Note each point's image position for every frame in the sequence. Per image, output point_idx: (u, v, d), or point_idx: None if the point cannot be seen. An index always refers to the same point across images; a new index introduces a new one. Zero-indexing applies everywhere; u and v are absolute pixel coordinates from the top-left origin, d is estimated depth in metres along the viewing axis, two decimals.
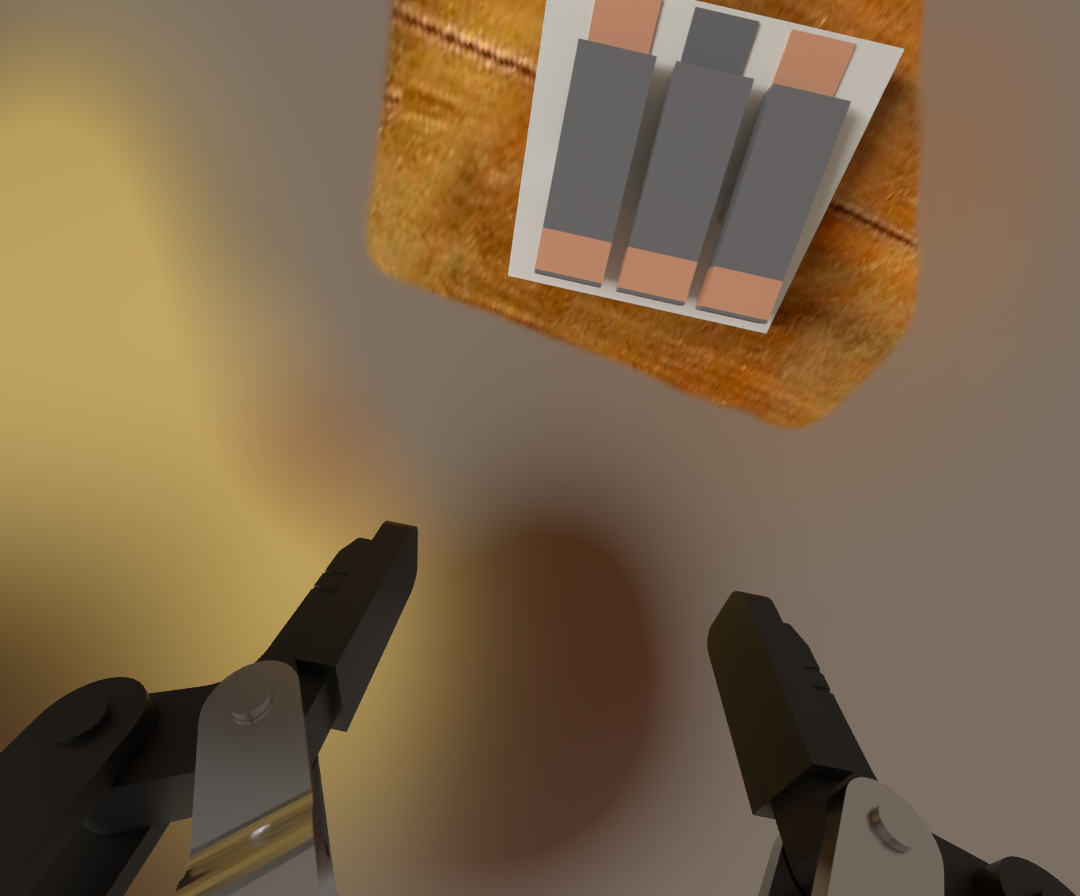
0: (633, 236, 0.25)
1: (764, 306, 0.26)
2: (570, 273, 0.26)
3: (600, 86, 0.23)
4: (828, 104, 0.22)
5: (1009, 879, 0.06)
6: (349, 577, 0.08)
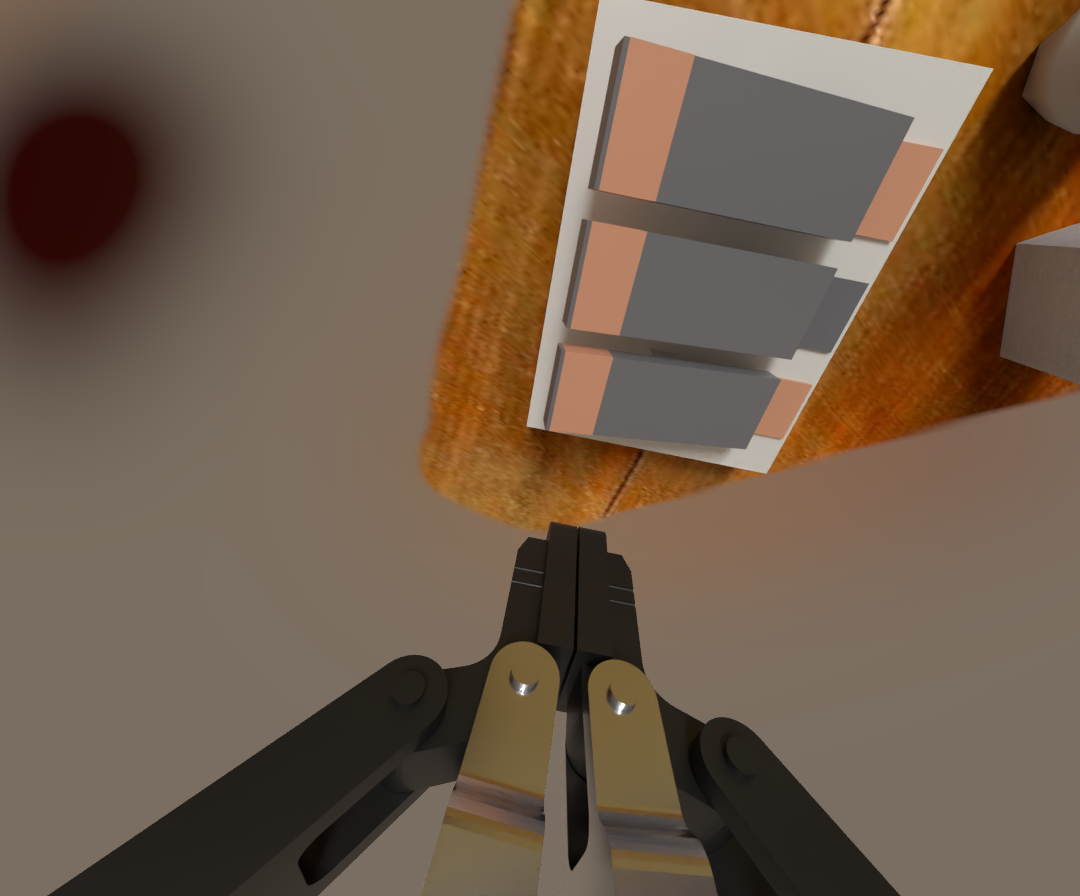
0: (659, 237, 0.17)
1: (565, 423, 0.21)
2: (617, 123, 0.15)
3: (849, 160, 0.16)
4: (748, 432, 0.23)
5: (711, 732, 0.07)
6: (546, 572, 0.09)
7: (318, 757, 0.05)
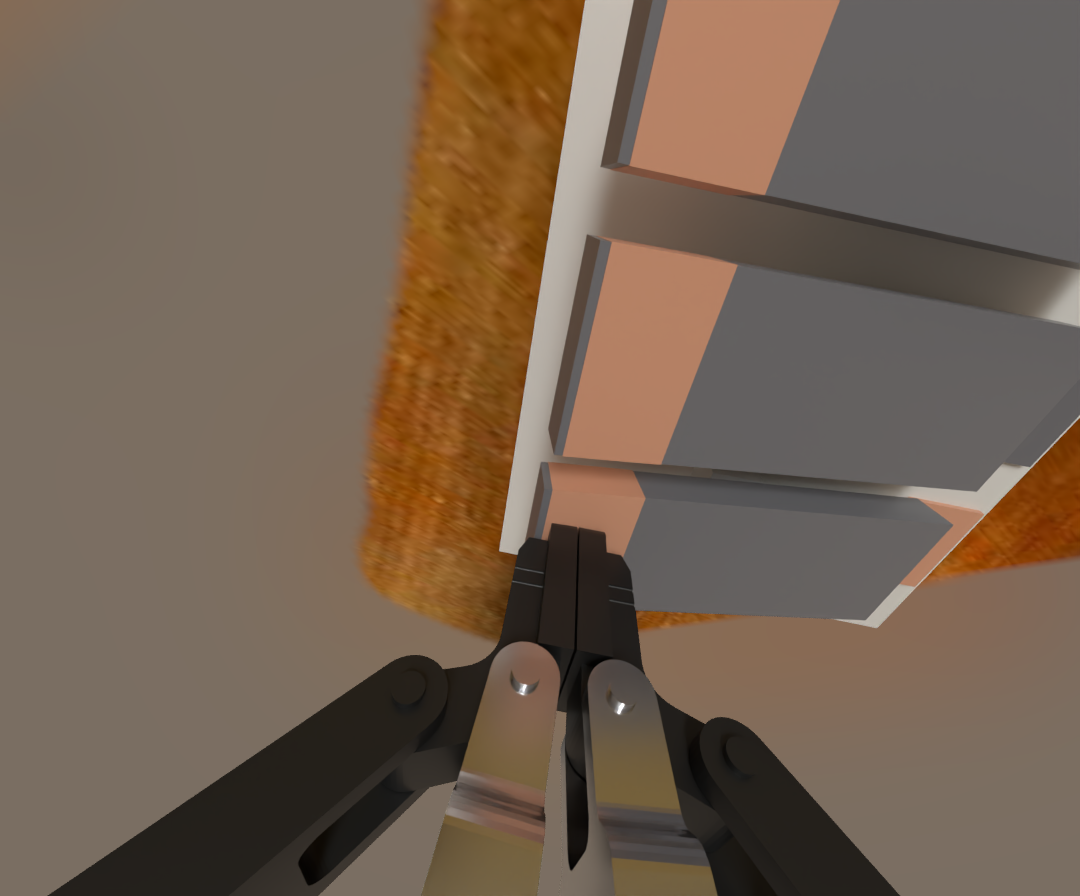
0: (764, 277, 0.07)
1: None
2: None
3: None
4: (876, 598, 0.13)
5: (711, 732, 0.07)
6: (547, 572, 0.09)
7: (318, 757, 0.05)
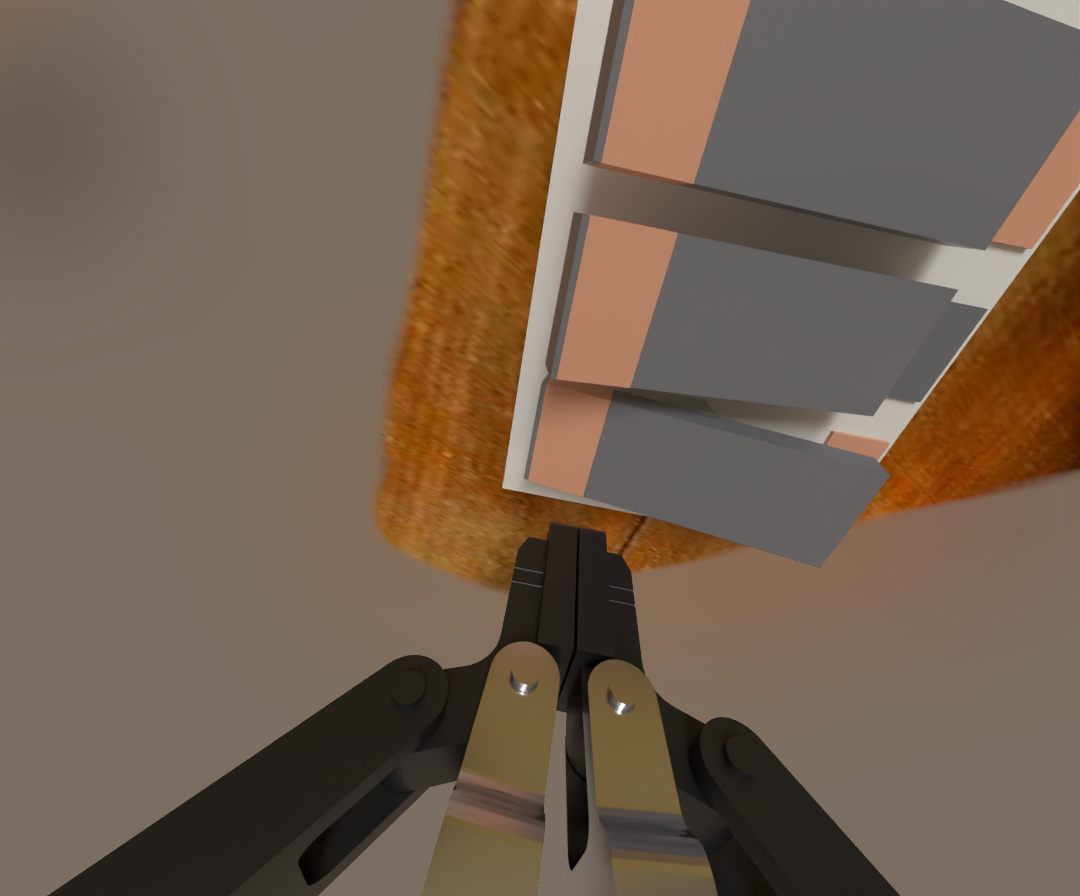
0: (697, 242, 0.11)
1: (547, 474, 0.17)
2: (633, 43, 0.08)
3: (1007, 119, 0.10)
4: (825, 543, 0.15)
5: (711, 732, 0.07)
6: (546, 572, 0.09)
7: (318, 757, 0.05)
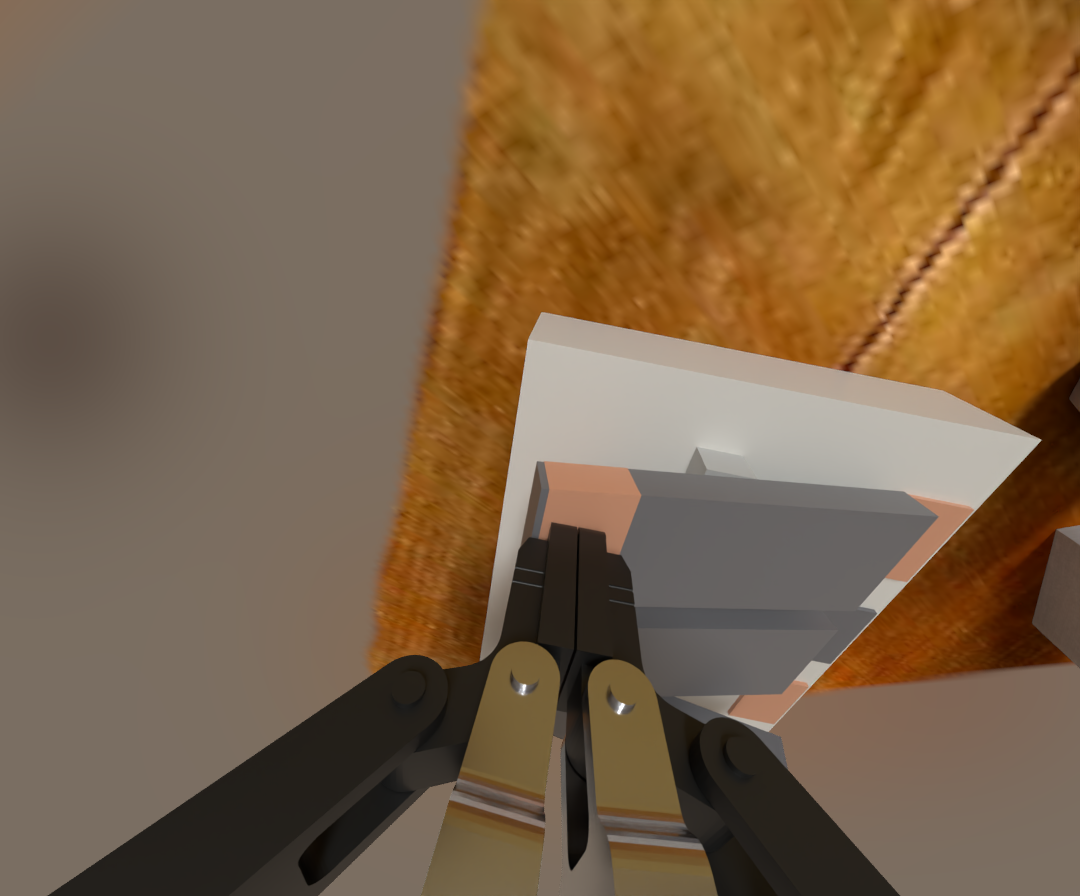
0: None
1: None
2: None
3: (853, 555, 0.12)
4: None
5: (711, 732, 0.07)
6: (547, 572, 0.09)
7: (318, 757, 0.05)
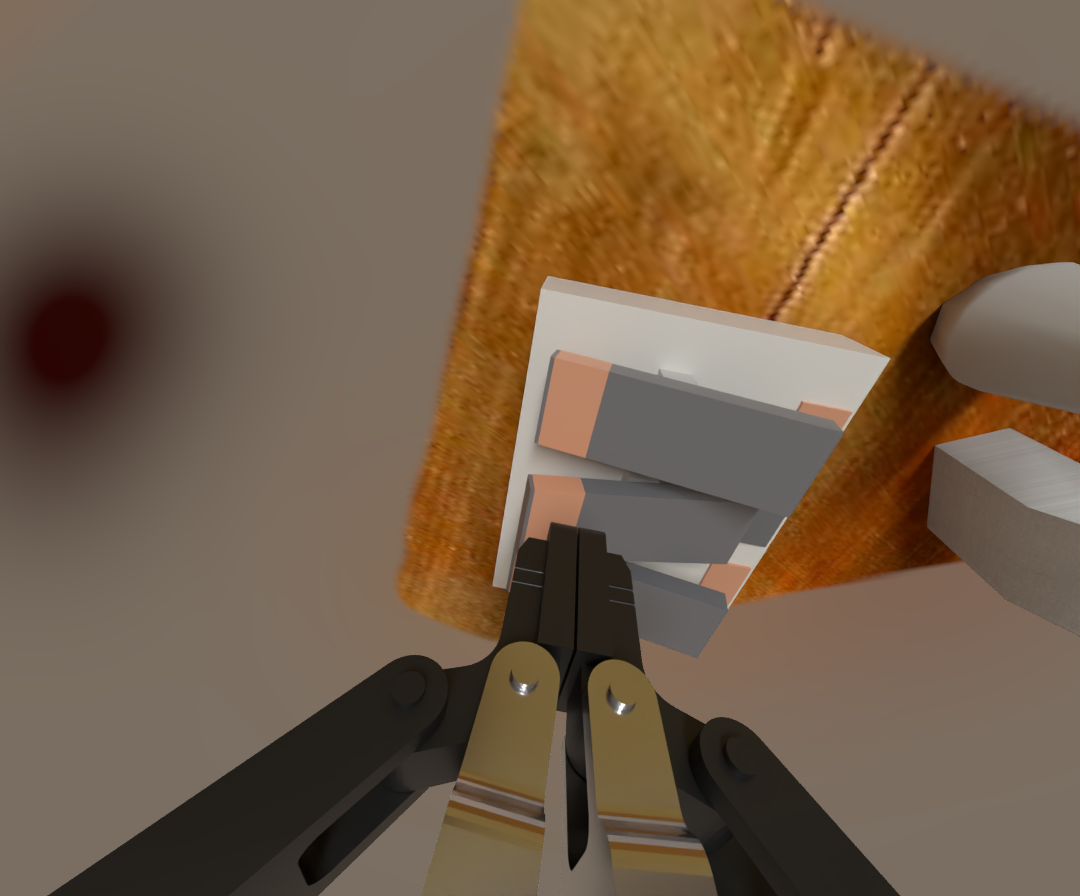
0: (597, 496, 0.19)
1: None
2: (549, 406, 0.19)
3: (774, 456, 0.17)
4: (698, 644, 0.23)
5: (711, 732, 0.07)
6: (546, 572, 0.09)
7: (318, 757, 0.05)
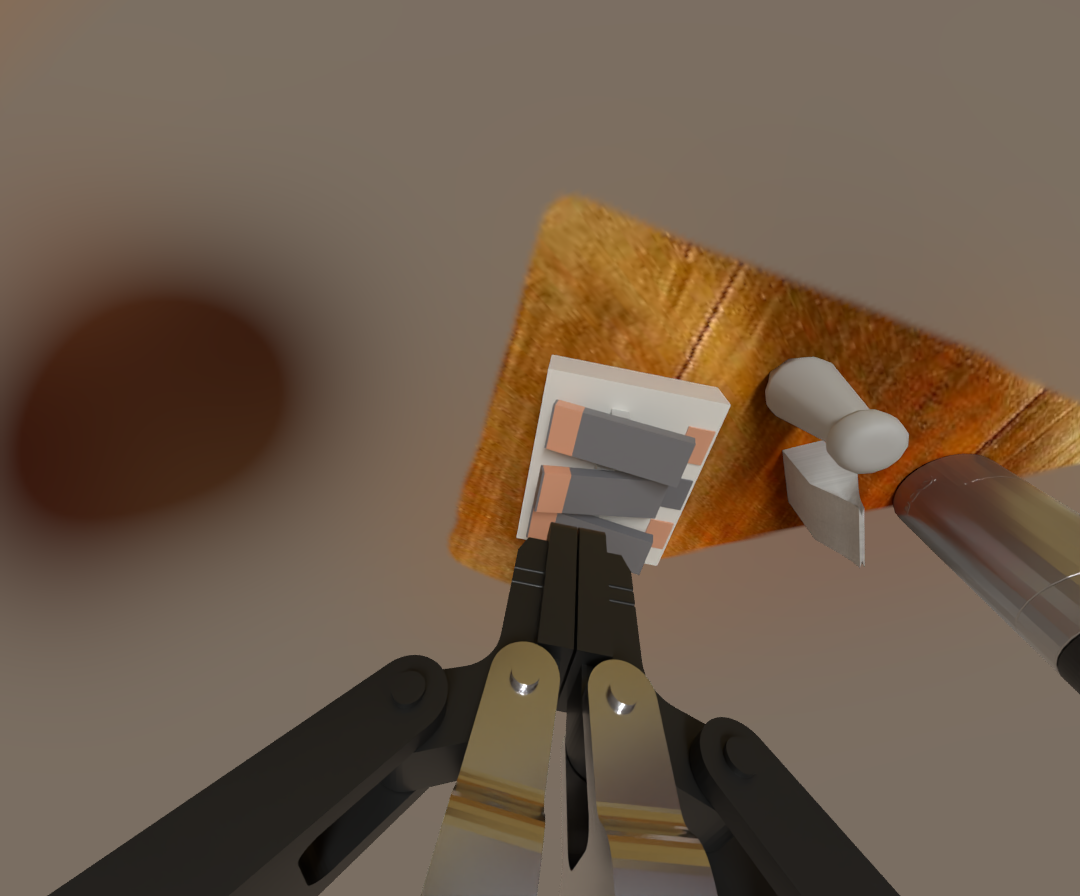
0: (577, 476, 0.36)
1: (535, 536, 0.42)
2: (552, 428, 0.35)
3: (665, 455, 0.33)
4: (638, 566, 0.40)
5: (711, 732, 0.07)
6: (546, 572, 0.09)
7: (318, 757, 0.05)
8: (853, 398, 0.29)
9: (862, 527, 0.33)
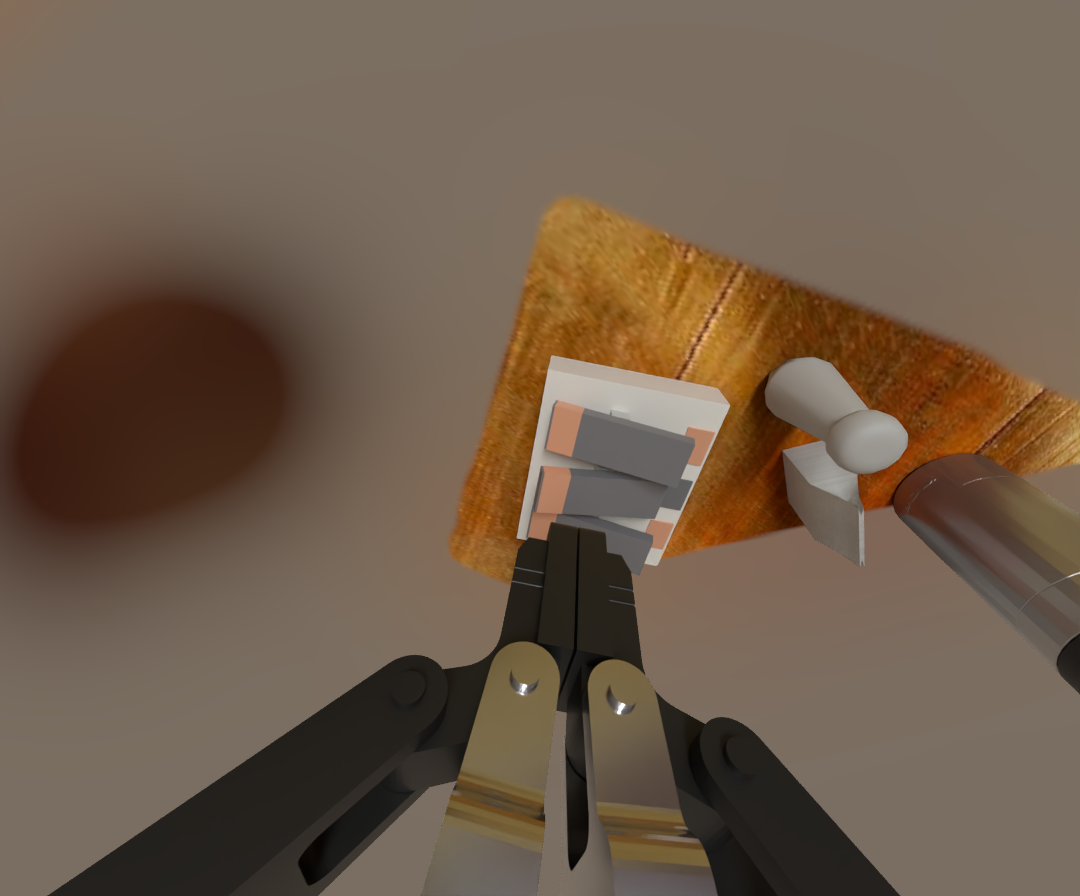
0: (577, 477, 0.36)
1: (535, 536, 0.42)
2: (552, 429, 0.35)
3: (665, 456, 0.33)
4: (638, 566, 0.40)
5: (711, 732, 0.07)
6: (546, 572, 0.09)
7: (318, 758, 0.05)
8: (852, 399, 0.29)
9: (862, 527, 0.33)
